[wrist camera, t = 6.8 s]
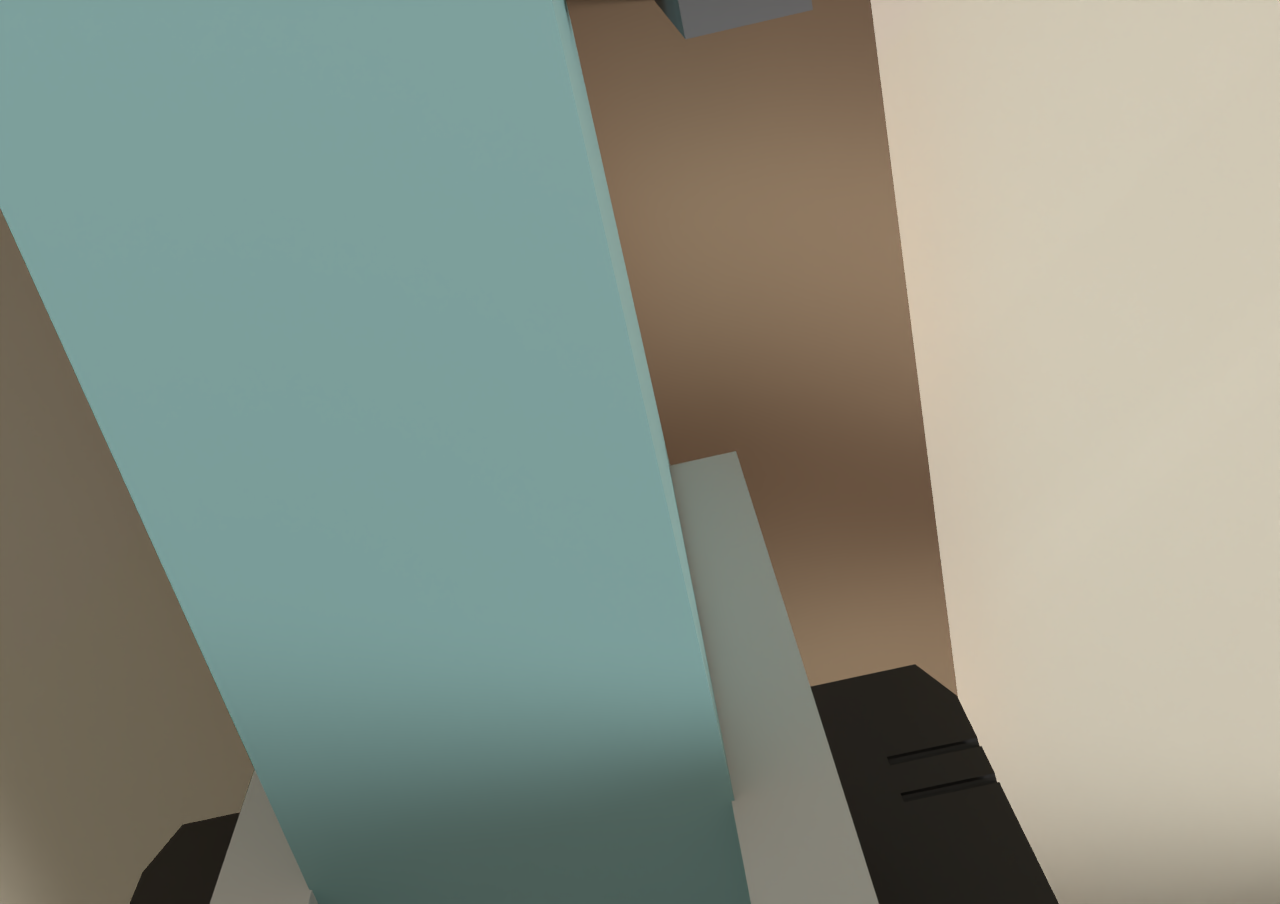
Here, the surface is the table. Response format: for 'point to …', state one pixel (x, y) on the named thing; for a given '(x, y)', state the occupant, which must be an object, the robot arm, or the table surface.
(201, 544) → the slat
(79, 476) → the table surface
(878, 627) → the frame
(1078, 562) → the table surface
